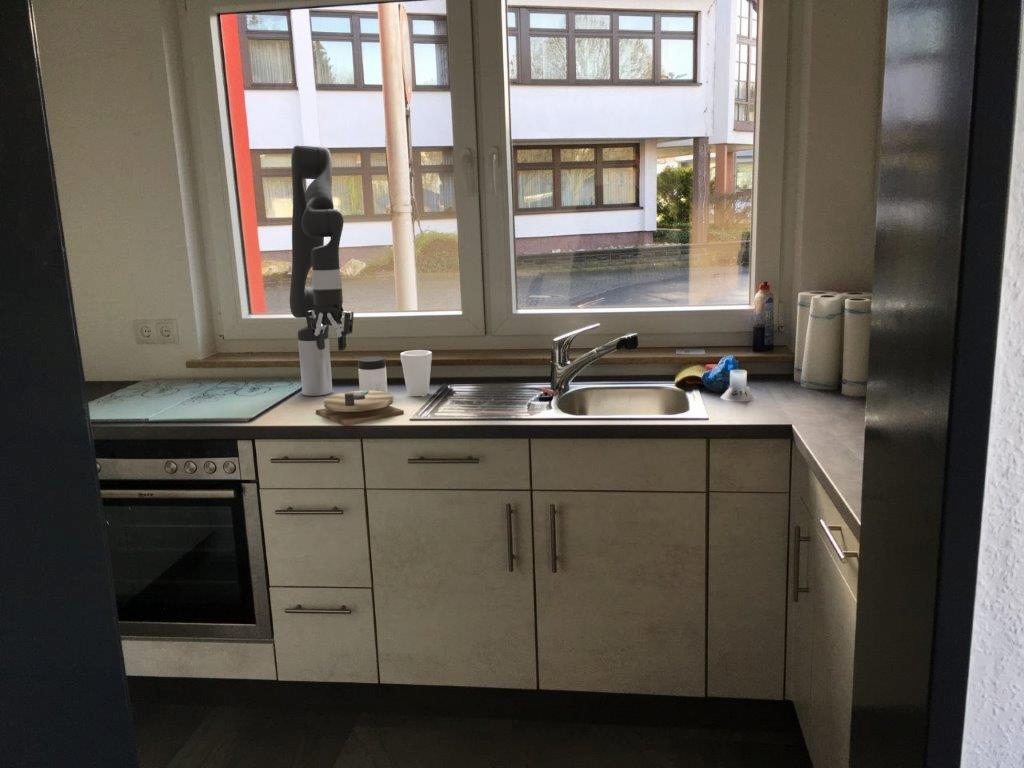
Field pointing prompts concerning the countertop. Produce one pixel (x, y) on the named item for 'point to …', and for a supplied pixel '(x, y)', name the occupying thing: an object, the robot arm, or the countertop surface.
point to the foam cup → (416, 371)
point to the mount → (359, 415)
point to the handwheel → (358, 401)
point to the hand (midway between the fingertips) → (331, 349)
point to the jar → (372, 374)
